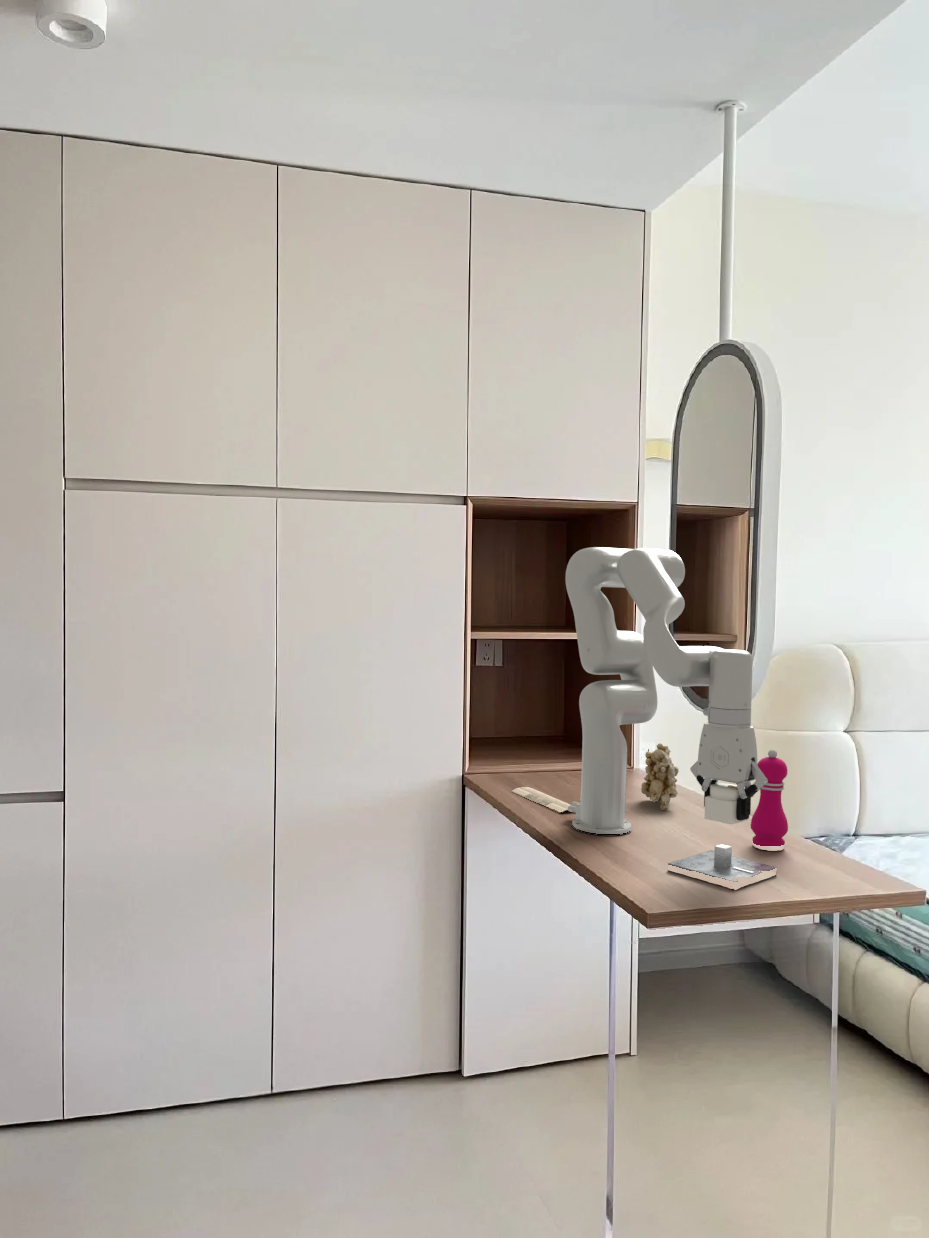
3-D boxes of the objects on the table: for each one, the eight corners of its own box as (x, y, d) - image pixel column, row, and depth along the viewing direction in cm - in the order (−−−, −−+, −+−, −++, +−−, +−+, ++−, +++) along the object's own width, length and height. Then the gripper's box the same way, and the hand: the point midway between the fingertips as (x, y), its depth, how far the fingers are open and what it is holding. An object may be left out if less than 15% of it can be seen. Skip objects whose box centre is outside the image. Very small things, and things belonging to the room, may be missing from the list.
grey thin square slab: (667, 870, 179) (668, 844, 179) (710, 857, 189) (711, 832, 189) (734, 890, 169) (736, 862, 169) (776, 875, 179) (778, 848, 178)
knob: (702, 818, 178) (703, 784, 178) (721, 814, 182) (722, 780, 182) (731, 824, 174) (732, 789, 174) (749, 819, 178) (750, 785, 178)
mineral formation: (669, 799, 238) (671, 738, 238) (686, 813, 225) (689, 748, 224) (636, 799, 238) (639, 738, 237) (652, 812, 224) (655, 747, 224)
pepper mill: (758, 840, 203) (762, 745, 202) (792, 847, 198) (797, 749, 197) (743, 847, 197) (748, 749, 196) (778, 854, 192) (783, 754, 192)
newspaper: (583, 815, 223) (583, 807, 223) (556, 817, 220) (556, 809, 220) (533, 793, 244) (533, 786, 244) (507, 795, 241) (508, 788, 241)
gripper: (677, 713, 181) (675, 810, 182) (761, 724, 169) (758, 828, 169) (700, 711, 187) (698, 805, 187) (783, 721, 174) (780, 821, 174)
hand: (726, 814), depth 178 cm, fingers closed on knob, 6 cm apart
